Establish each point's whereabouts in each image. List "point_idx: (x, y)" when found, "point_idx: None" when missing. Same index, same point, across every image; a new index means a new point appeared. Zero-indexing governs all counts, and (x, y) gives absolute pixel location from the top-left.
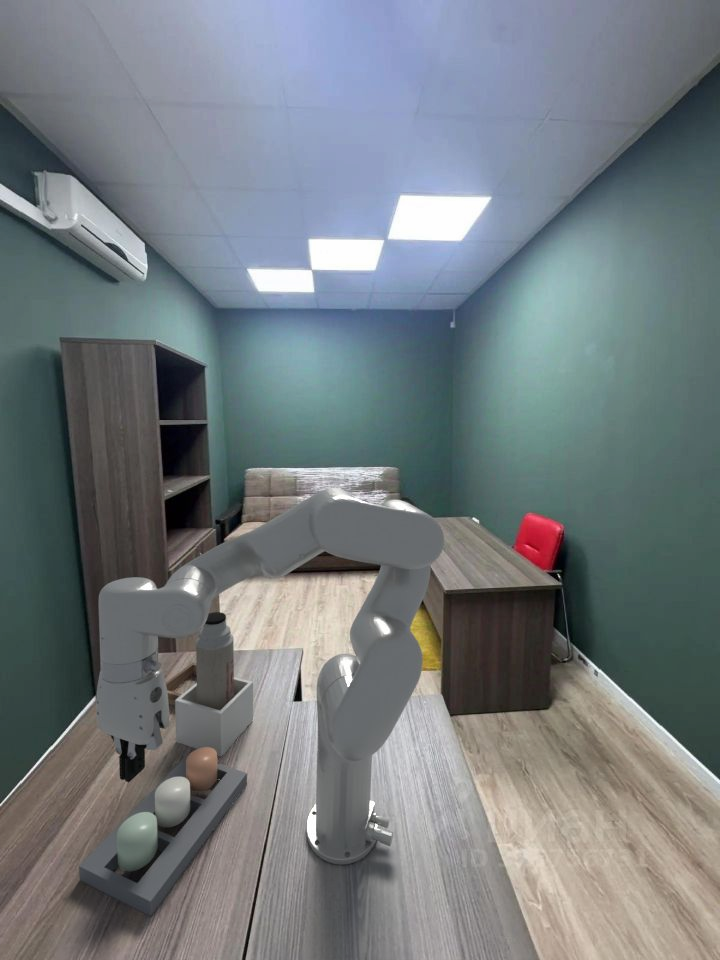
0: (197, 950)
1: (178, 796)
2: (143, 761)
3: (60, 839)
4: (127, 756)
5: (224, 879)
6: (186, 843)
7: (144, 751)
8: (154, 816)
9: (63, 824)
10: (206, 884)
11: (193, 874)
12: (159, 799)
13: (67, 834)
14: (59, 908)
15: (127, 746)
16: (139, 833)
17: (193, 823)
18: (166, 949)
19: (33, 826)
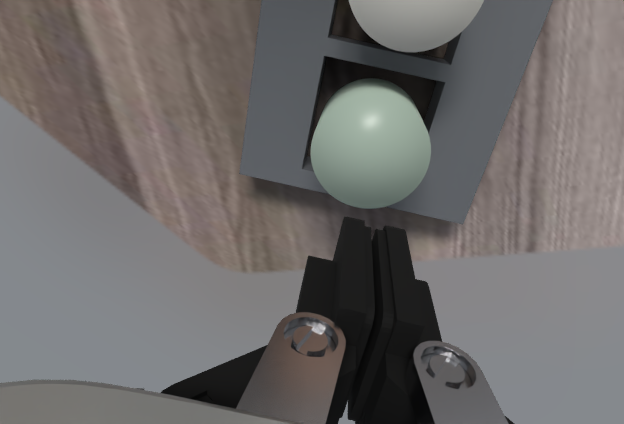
0: (580, 247)
1: (458, 6)
2: (430, 306)
3: (117, 77)
4: (362, 422)
5: (614, 113)
6: (497, 77)
7: (415, 286)
8: (405, 108)
9: (83, 35)
10: (566, 130)
11: (522, 112)
12: (385, 34)
13: (121, 61)
14: (254, 212)
15: (328, 421)
16: (387, 169)
17: (496, 6)
18: (514, 251)
19: (17, 54)
